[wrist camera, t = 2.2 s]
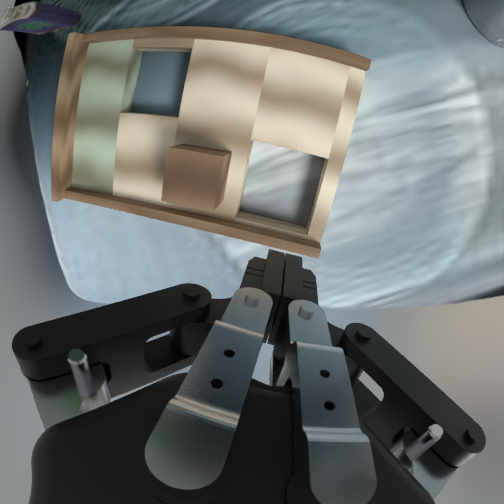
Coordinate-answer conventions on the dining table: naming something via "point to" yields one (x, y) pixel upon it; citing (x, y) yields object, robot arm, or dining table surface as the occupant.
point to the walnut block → (195, 176)
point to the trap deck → (202, 122)
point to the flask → (38, 18)
